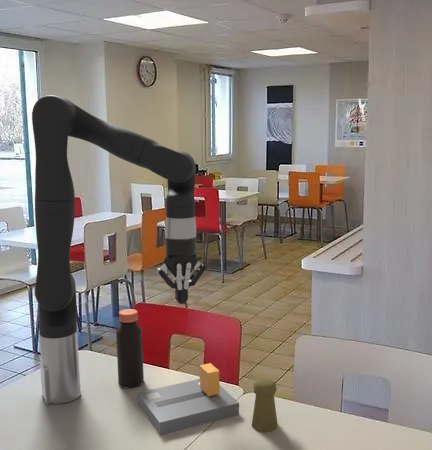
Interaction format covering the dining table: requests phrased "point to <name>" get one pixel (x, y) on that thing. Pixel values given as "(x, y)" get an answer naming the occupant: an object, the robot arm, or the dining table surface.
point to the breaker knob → (209, 379)
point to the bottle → (129, 350)
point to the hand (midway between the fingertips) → (181, 303)
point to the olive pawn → (264, 406)
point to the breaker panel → (185, 406)
